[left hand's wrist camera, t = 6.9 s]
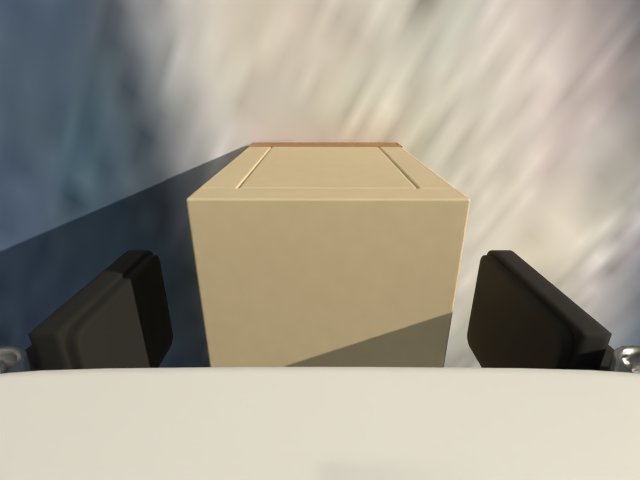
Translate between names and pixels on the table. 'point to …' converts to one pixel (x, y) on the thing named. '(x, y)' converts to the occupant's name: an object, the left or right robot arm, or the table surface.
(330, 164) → the tan long block
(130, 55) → the table surface
